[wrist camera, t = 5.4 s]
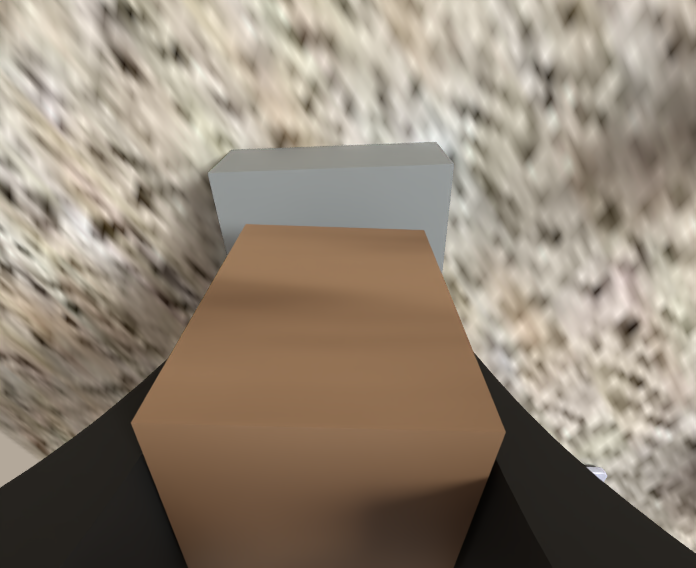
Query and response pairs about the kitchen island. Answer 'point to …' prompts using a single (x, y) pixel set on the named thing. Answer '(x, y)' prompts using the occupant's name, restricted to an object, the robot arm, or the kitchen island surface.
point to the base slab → (336, 189)
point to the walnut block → (322, 408)
